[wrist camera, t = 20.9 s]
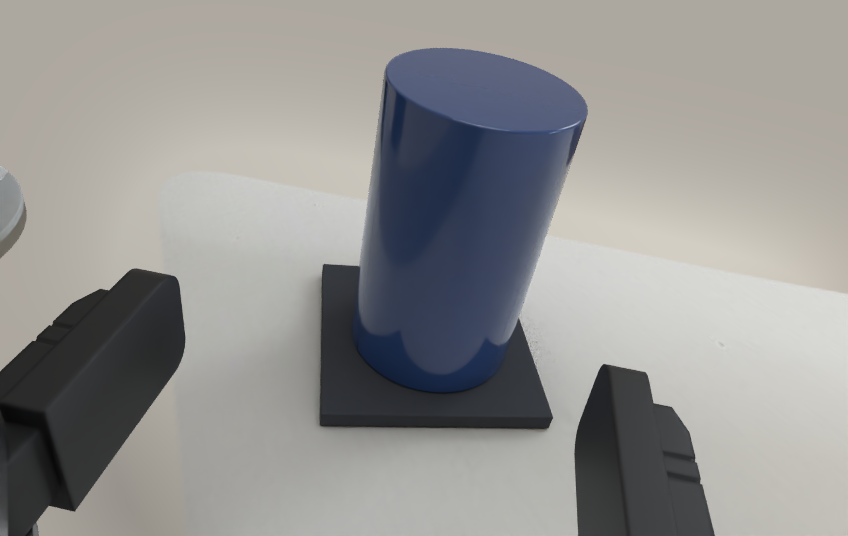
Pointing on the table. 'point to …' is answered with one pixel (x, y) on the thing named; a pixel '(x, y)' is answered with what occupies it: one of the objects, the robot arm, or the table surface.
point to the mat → (401, 406)
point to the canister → (458, 211)
